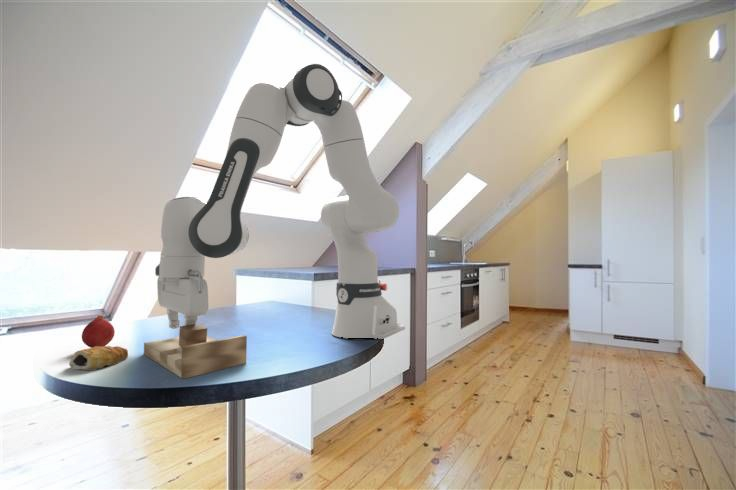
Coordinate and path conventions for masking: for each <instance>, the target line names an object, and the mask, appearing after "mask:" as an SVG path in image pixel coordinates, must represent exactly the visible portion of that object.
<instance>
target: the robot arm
mask: <svg viewBox="0 0 736 490" xmlns="http://www.w3.org/2000/svg"><path fill="white" fill-rule="evenodd" d="M312 122H313V123H314V124H315V125H316V126H317V128H318V129H319V131H320V135H321V138H322V145H323V148H324V154H325V157H326V158H325V159H326V163H327V168H328V171H329V172H328V173H329V175H330V178H332V179H333V180H334V181H335V182H338V183H339V184H340V185H341V187H342V188H343V189H344V191H345V193H346V195H342V196H338V197H335V198H333V199H331V200H329V201H327V202H326V203H324V205H323V207H322V208H321V211H320V213H321V214H320V215H321V216H320V218H321V222H322V225H323V227H325V229H326V230H327V231H328V232H329V233H330V236H331V237H332V240H333V242H334V246H335V249H336V254H337V282H336V287H335V288H336V289H335V290H336V291H335V293H336V298H337V302H336V305H335V315H334V321H333V326H332V331H331V335H333V336H334V337H337V338H341V337H343V338H342V339H348V338H374V340H383V339H387V338H388V337H391V336H393V335H396V334H398V333H400V332H402V331H404V330H406V325H404V324H402V323H399V322H398V316H397V315H398V314H397V310H396V308H395V307H394V306H393V305H392V304H391V303H390V302H389V301H388V300H386V299H385V298H384V297H383V294H382V293H383V292H384V291H385V292H386V291H387V290H388V284H387V283H381V282H380V283H379V282H378V277H379V276H378V273H379V272H378V270H379V269H378V266H379V265H378V264H379V263H378V262H379V260H378V255H377V253H376V252H375V250H374V249H372V247H370V246H369V244H368V243H367V240H366V235H365V234H366V233H367V234H368V233H379V232H382V231H385V230H388V229H391V228H393V227H394V226H395V225H396V223H397V222H398V220H399V216H400V207H399V203H398V201H397V199H396V198H395V196H394V195H393V194H392V193H390V192H388V191H387V190H386V189H384V187H382V185H381V184H380V183H379V182H378V180H377V178H376V176H375V175H374V173H373V170H372V168H371V165H370V161H369V158H368V157H369V156H368V153H367V148H366V144H365V139H364V138H365V137H364V134H363V129H362V127H361V122H360V120H359V117H358V114H357V112H356V109H355V107H354V105H353V104H352V103H351V102H349V101H348V100H343V93H342V91H341V90H340V88H339V85H338V81H336V78H335V76H334V75H333V74H332V72H331V71H330V70H329V68H327V67H326V66H324V65H322V64H319V63H311V64H306V65H304V66H302V67H300V68H299V69H298V70H297V71H296V73H294V74H293V75H292V76H291V77H289V78H288V80H287V81H286V82H285V84H284V85H283V86H281V87H280V86H276V85H275V84H273V83H270V82H265V81H259V82H255V83H253V84H252V85H251V86H250V87H249V89H248V91H247V92H246V94H245V96H244V97H243V100H242V101H241V104H240V106H239V108H238V111H237V113H236V116H235V118H234V122H233V124H232V125H233V126H232V129H231V133H230V136H229V141H228V145H227V150H226V154H225V158H224V160H223V163H222V166H221V168H220V171H219V172H218V175H217V179H216V181H215V184H214V186H213V188H212V189H213V190H212V192H211V194H210V197H209V199H208V200H207V201H204V200H203V199H202V198H199V197H196V196H195V197H194V196H181V197H176V198H173V199H171V200H168V202H166V203H165V205H164V208H163V213H162V219H161V227H160V228H161V229H160V231H161V232H160V238H161V241H162V248H161V249H162V250H161V252H160V261H159V263H158V265H157V266H155V269H154V274H155V276H156V277H157V280H156V286H157V287H156V288H157V301H158V305H159V307H161V308H164V309H166V313H167V318H168V328H170V329H172V330H173V329H180V319H179V313H180V314H183V315H184V319H185V321H184V326H187V325H194V324H197V320H198V317H200V316H205V315H207V314H208V311H209V289H208V288H209V287H208V282H207V281H206V279H204V277H205V270H206V269H205V265H206V264H205V263H206V262H205V261H206V257H207V258H212V259H221V258H224V257H227V256H230V255H235V254H237V253H239V252H240V251H241V250H244V248H245V247H246V245H247V243H248V241H249V236H250V234H249V230H248V227H247V225H246V224H245V223H244V221H243V220H242V219H241V213H242V208H243V206H244V202H245V199H246V197H247V194H248V192H249V189H250V186H251V183H252V180H253V179H254V176H255V174H256V173H257V172H258V171H259V170H260V169H262V168H264V167H267V166H269V165H270V164H271V163H272V161H273V160H274V158H275V156H276V154H277V151H278V150H279V148H280V145H281V142H282V138H283V135H284V132H285V131H284V130H285V127H286V125H288V126H293V127H303V126H306V125H309V123H312ZM382 291H383V292H382ZM377 338H378V339H377Z"/></svg>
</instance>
